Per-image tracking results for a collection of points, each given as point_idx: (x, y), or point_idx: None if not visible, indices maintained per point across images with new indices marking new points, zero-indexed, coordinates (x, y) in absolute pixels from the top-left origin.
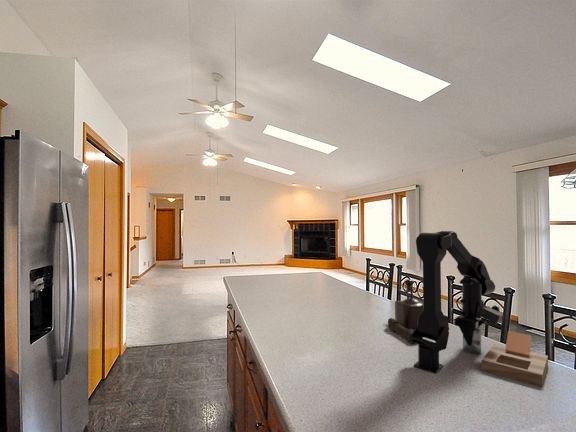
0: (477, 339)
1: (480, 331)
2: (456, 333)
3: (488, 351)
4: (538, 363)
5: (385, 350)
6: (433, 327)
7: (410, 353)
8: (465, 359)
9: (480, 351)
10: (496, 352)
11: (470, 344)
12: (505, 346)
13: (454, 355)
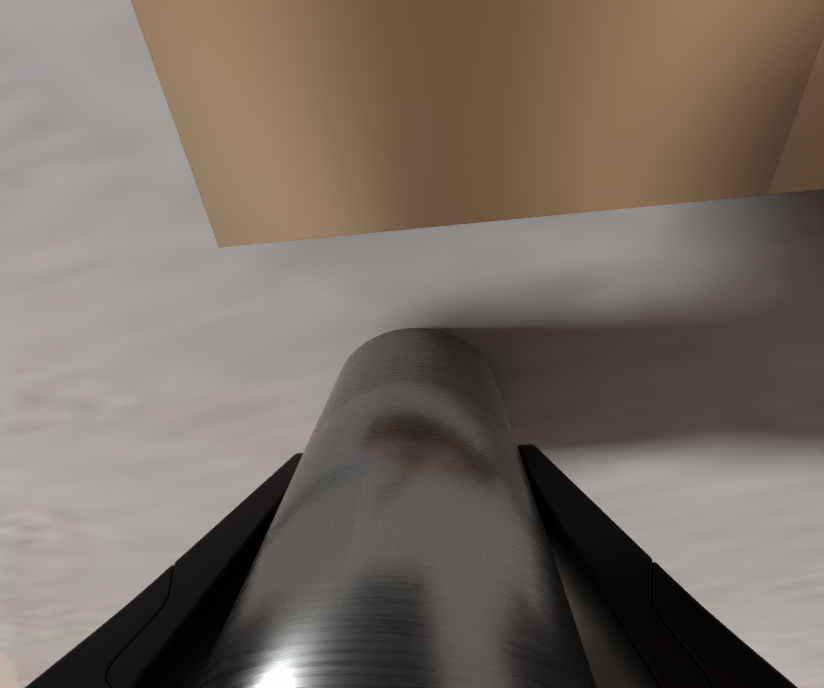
0: (497, 465)
1: (420, 611)
2: (119, 561)
3: (757, 192)
4: None
5: (808, 679)
6: None
7: (796, 616)
8: (727, 375)
9: (426, 338)
10: (743, 36)
11: (540, 459)
12: (139, 19)
13: (664, 458)
